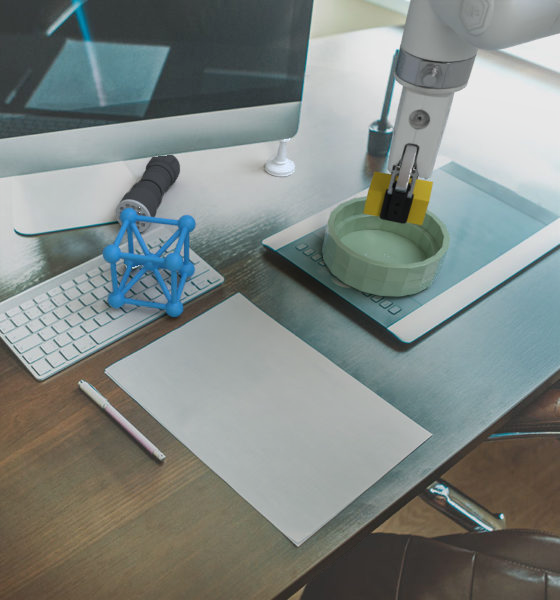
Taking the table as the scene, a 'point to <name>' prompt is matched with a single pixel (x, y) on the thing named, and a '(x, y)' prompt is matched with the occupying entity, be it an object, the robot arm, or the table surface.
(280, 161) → the chess piece
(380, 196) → the sponge
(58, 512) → the table surface
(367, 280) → the bowl
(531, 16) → the robot arm
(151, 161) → the flashlight
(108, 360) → the table surface
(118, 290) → the molecular structure
